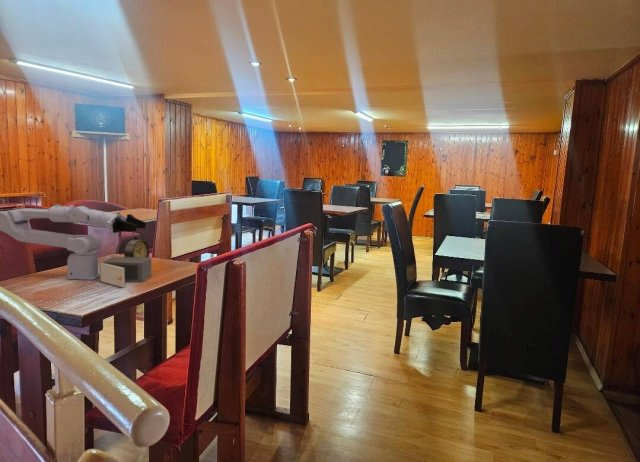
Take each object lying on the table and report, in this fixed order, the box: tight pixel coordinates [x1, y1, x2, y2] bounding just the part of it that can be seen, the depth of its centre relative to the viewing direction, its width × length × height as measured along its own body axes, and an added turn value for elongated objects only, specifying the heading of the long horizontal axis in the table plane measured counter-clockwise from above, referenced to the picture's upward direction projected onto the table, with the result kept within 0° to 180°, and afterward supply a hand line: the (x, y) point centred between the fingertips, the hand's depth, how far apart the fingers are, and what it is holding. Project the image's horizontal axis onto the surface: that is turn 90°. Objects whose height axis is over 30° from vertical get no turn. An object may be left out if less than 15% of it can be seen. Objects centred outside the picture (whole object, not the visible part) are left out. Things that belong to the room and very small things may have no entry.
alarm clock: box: [123, 228, 150, 258], centre depth 172 cm, size 11×5×16 cm, turn 168°
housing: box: [101, 256, 152, 283], centre depth 157 cm, size 14×10×7 cm
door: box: [98, 262, 126, 288], centre depth 147 cm, size 14×2×7 cm, turn 59°
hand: (140, 226), depth 154 cm, fingers open, 7 cm apart
